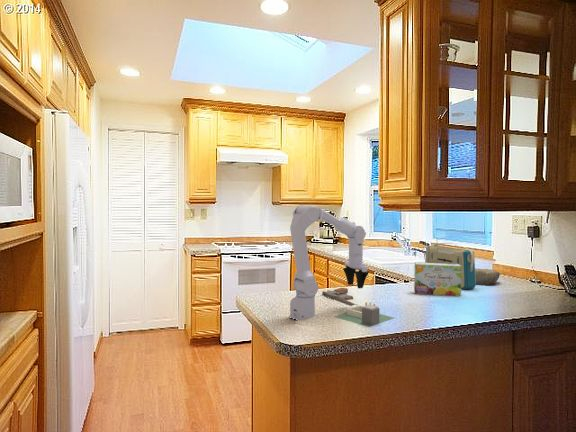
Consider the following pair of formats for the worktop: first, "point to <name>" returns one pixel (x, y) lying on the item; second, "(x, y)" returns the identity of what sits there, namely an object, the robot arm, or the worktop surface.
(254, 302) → the worktop surface
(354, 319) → the board
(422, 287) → the snack box
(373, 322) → the plug
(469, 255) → the radio
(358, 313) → the socket
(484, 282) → the stone
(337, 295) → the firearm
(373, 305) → the pin header
